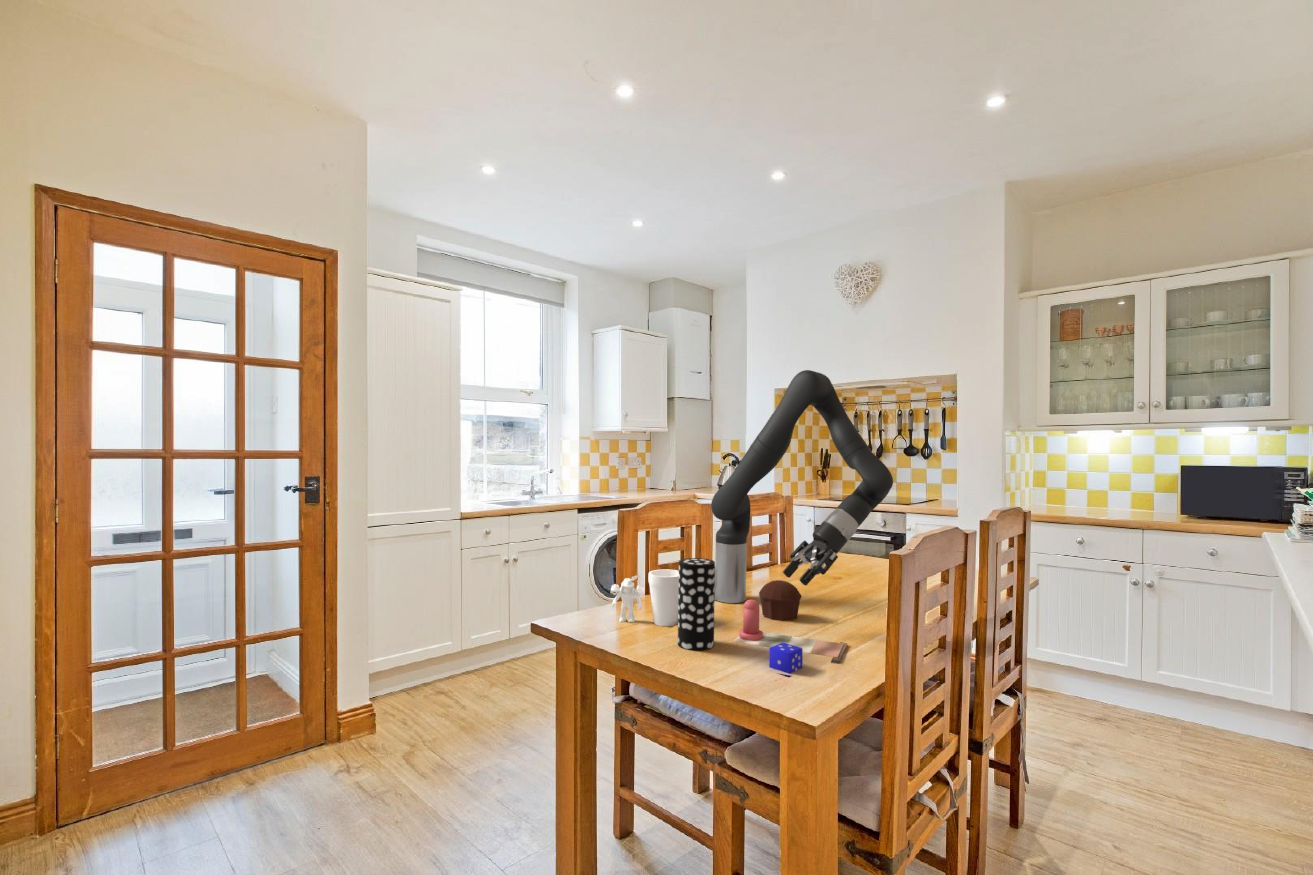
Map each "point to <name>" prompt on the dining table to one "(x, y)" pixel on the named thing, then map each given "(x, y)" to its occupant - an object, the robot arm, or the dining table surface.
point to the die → (785, 658)
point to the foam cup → (664, 596)
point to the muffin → (780, 600)
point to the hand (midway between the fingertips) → (793, 578)
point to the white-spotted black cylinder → (696, 604)
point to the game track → (802, 645)
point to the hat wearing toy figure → (627, 597)
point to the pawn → (751, 622)
